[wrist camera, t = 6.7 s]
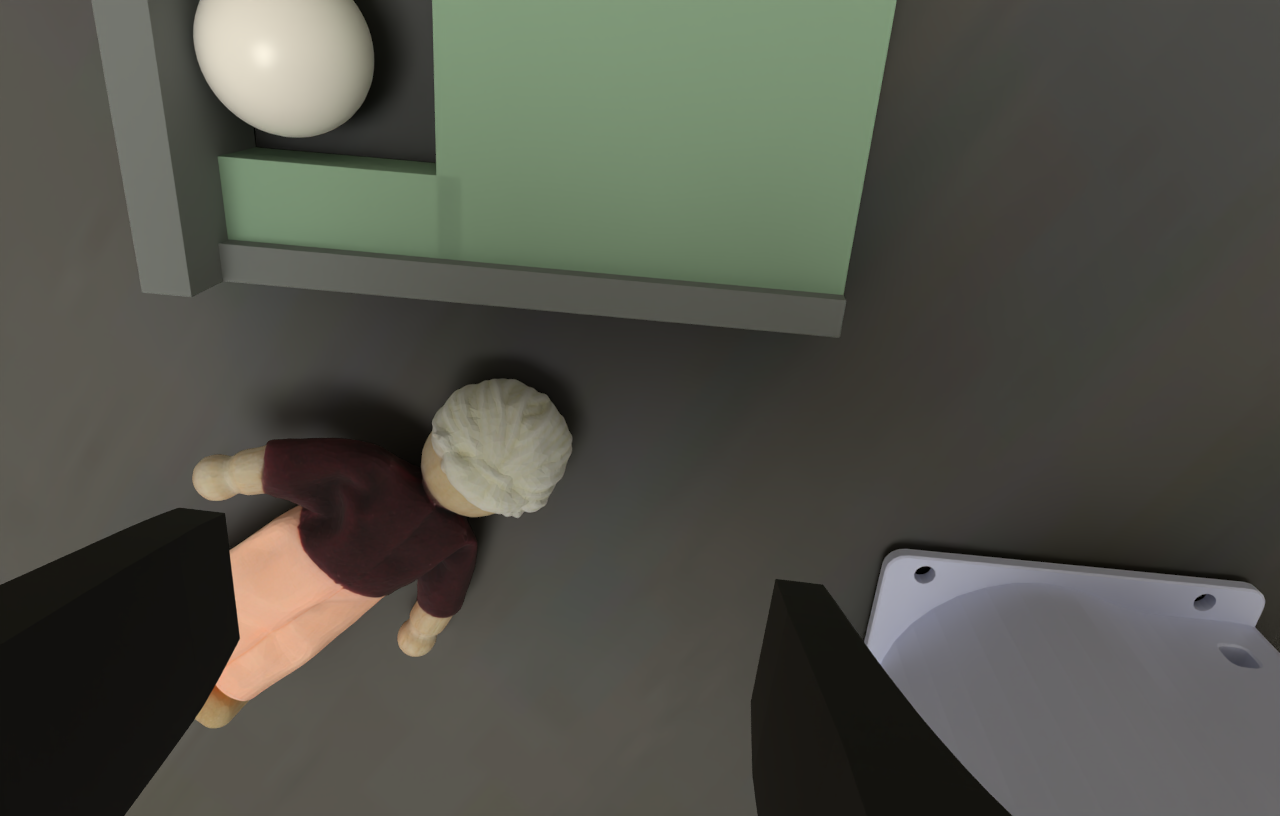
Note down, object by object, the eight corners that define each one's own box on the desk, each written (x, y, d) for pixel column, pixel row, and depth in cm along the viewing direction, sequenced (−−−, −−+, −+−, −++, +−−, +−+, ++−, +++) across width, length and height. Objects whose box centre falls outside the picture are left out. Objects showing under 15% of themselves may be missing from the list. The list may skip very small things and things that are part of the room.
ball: (316, 0, 18) (405, -31, 16) (321, 153, 18) (409, 142, 17) (158, -48, 16) (240, -90, 14) (168, 131, 16) (249, 115, 14)
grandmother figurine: (287, 639, 26) (623, 437, 23) (277, 758, 23) (655, 547, 20) (42, 535, 21) (435, 256, 18) (-8, 674, 18) (446, 373, 15)
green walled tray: (917, -223, 15) (972, -288, 12) (825, 309, 19) (849, 358, 16) (156, -280, 15) (29, -356, 12) (225, 254, 19) (142, 292, 16)
